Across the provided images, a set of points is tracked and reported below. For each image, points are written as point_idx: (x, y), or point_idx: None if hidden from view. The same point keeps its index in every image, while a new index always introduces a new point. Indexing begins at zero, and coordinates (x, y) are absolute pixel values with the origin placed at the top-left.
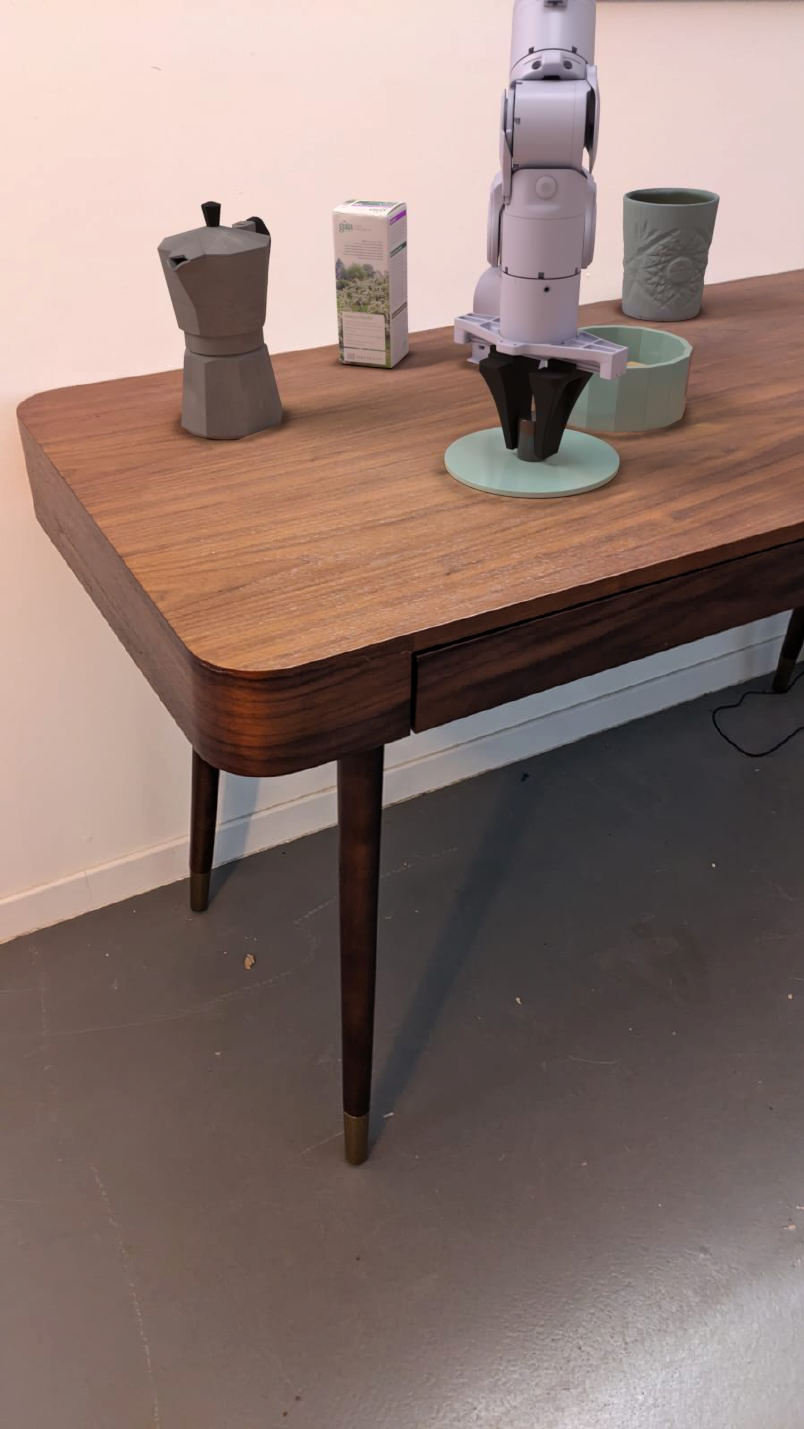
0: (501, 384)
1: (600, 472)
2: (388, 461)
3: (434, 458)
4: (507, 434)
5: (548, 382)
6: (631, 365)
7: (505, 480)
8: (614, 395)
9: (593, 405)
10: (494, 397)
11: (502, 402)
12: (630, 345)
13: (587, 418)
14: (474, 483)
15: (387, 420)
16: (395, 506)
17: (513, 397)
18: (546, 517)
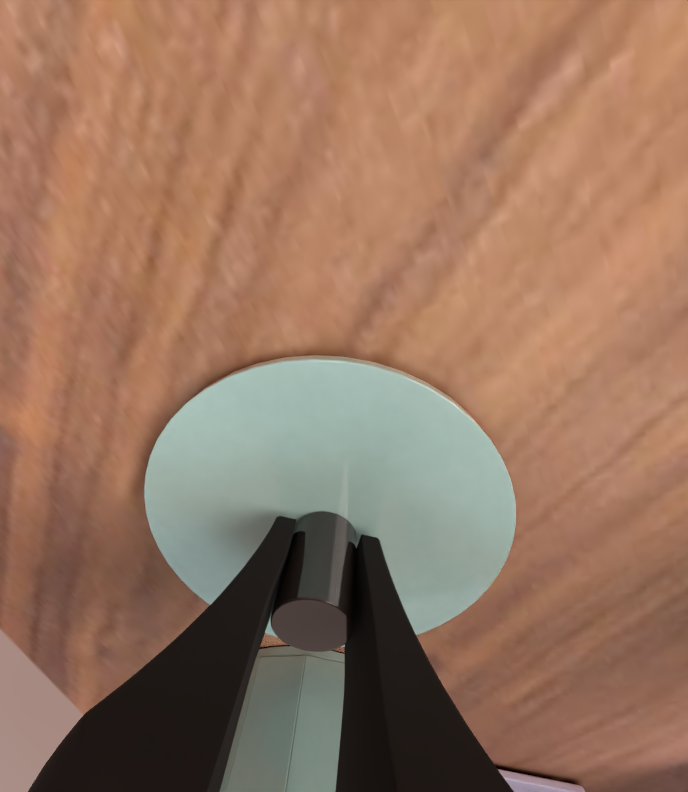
0: (396, 728)
1: (166, 514)
2: (642, 450)
3: (536, 497)
4: (372, 561)
5: (78, 766)
6: None
7: (318, 410)
8: (244, 742)
9: (287, 711)
10: (425, 667)
11: (391, 649)
12: None
13: (301, 679)
14: (382, 368)
15: (685, 612)
16: (558, 205)
17: (365, 678)
18: (185, 324)
